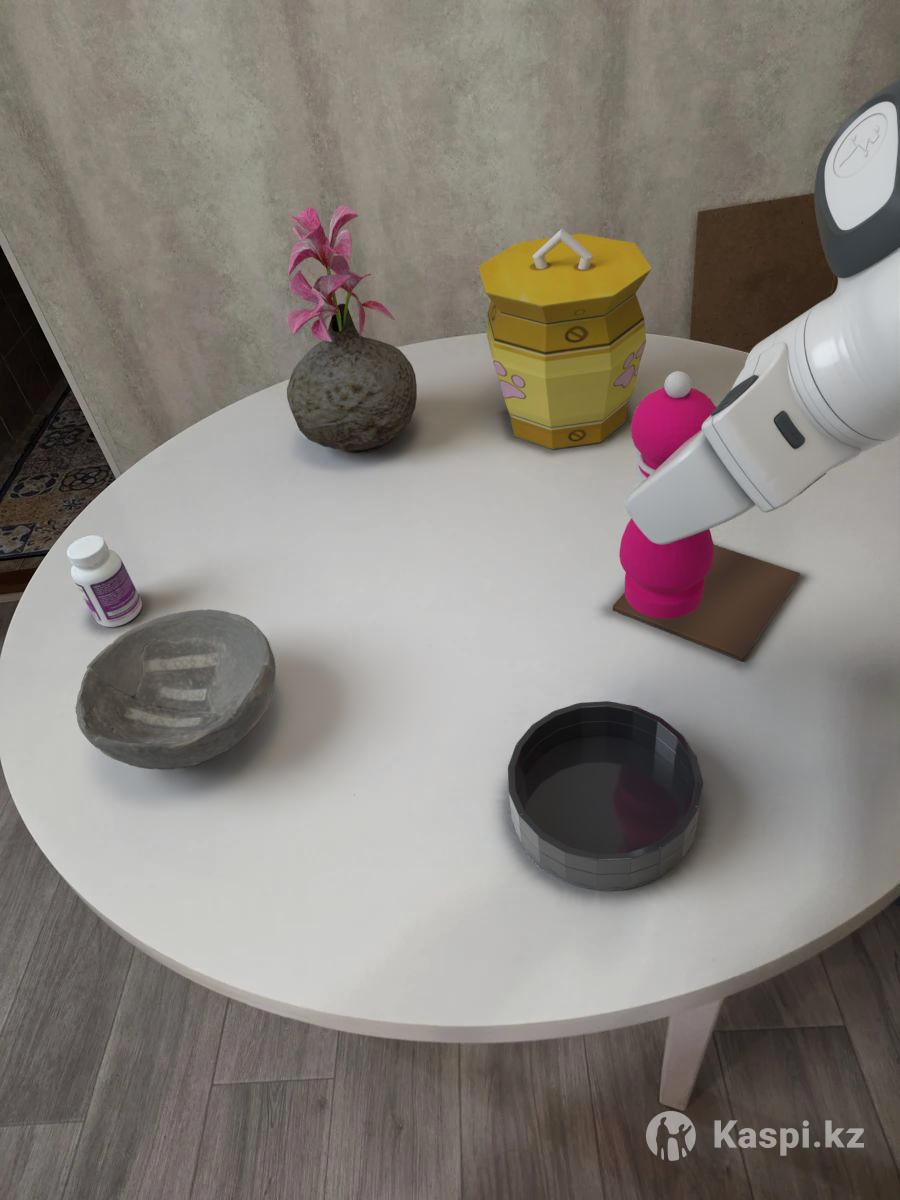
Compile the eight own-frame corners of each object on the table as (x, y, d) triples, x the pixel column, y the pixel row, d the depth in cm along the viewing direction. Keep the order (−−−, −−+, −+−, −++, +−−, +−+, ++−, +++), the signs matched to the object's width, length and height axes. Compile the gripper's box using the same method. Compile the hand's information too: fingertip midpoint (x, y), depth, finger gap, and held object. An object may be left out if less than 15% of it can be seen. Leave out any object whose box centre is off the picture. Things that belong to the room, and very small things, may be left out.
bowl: (298, 650, 90) (280, 593, 84) (279, 792, 77) (256, 736, 71) (130, 668, 91) (101, 612, 85) (83, 811, 78) (45, 757, 72)
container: (511, 374, 128) (498, 197, 111) (656, 382, 121) (666, 196, 104) (469, 453, 113) (447, 264, 96) (631, 467, 107) (638, 267, 90)
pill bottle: (149, 595, 99) (118, 529, 93) (134, 627, 95) (100, 561, 89) (105, 597, 100) (71, 531, 93) (88, 629, 96) (51, 563, 90)
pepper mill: (697, 560, 73) (719, 341, 60) (719, 619, 68) (749, 393, 55) (611, 569, 74) (615, 353, 60) (626, 628, 69) (634, 407, 55)
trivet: (799, 577, 89) (800, 572, 89) (743, 662, 82) (743, 657, 81) (674, 535, 96) (675, 531, 96) (612, 610, 89) (612, 606, 89)
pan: (728, 783, 72) (734, 750, 69) (641, 927, 64) (643, 897, 61) (572, 709, 80) (571, 676, 77) (476, 829, 72) (470, 798, 69)
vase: (285, 471, 115) (219, 244, 95) (328, 403, 127) (278, 189, 107) (405, 476, 111) (362, 240, 91) (438, 406, 123) (407, 184, 103)
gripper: (857, 282, 57) (708, 380, 69) (703, 429, 46) (559, 515, 58) (911, 359, 57) (754, 443, 69) (772, 522, 47) (615, 588, 59)
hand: (663, 477), depth 64 cm, fingers closed on pepper mill, 5 cm apart
